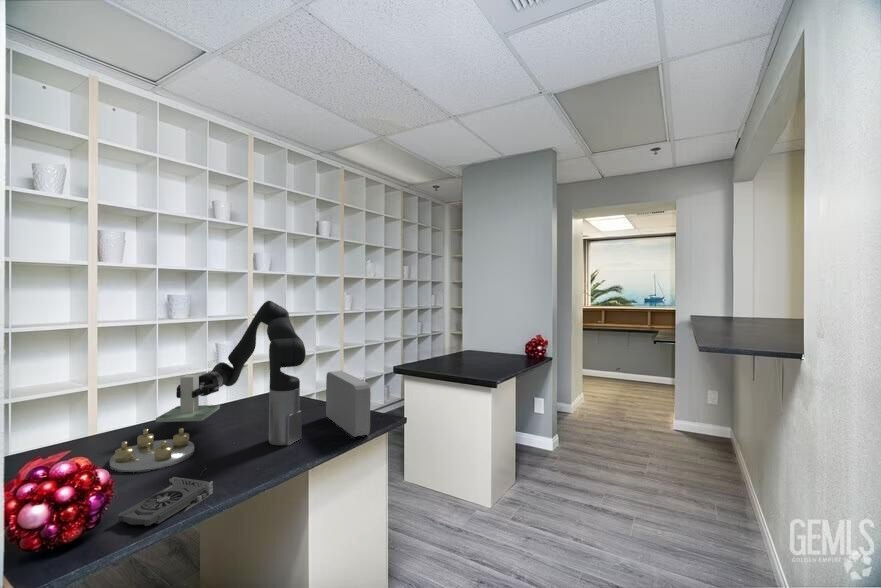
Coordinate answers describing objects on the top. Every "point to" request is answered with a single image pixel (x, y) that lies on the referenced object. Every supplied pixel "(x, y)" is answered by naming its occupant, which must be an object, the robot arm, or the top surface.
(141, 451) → the chassis
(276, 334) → the robot arm
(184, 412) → the plate with upright post
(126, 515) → the graphics card
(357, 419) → the gray rounded box
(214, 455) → the top surface
